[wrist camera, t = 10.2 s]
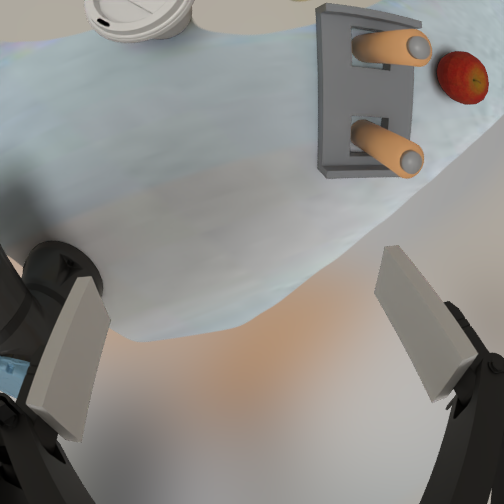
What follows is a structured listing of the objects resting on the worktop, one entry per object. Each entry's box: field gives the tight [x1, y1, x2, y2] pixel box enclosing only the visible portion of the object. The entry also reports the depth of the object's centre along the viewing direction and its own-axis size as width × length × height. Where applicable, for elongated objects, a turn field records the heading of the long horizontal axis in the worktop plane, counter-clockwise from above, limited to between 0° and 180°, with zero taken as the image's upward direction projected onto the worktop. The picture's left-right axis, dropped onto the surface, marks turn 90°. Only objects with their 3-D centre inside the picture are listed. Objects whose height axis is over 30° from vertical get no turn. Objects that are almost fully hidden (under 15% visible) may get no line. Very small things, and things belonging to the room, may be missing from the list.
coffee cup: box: [84, 0, 194, 43], centre depth 21 cm, size 10×10×15 cm
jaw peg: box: [351, 120, 424, 178], centre depth 33 cm, size 4×4×13 cm
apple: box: [437, 51, 489, 105], centre depth 30 cm, size 8×8×8 cm
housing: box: [315, 3, 432, 179], centre depth 29 cm, size 13×22×13 cm, turn 3°
